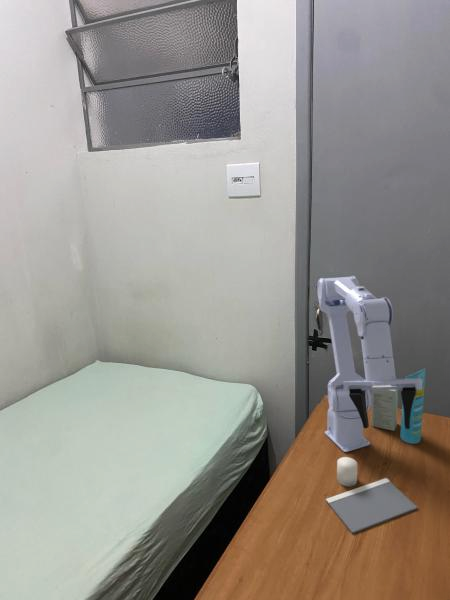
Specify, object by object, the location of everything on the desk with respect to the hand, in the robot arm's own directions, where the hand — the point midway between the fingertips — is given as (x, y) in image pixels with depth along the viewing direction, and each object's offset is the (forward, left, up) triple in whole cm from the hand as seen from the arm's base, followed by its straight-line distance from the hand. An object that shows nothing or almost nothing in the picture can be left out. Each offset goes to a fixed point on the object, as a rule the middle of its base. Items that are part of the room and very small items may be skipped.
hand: (386, 427), depth 80 cm
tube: (-16, +22, -20) cm, 34 cm away
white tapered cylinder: (-10, -2, -20) cm, 22 cm away
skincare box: (-24, +20, -20) cm, 37 cm away
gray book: (-2, -2, -19) cm, 20 cm away
